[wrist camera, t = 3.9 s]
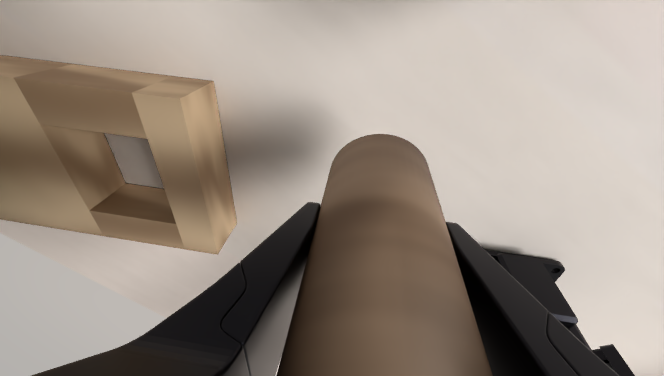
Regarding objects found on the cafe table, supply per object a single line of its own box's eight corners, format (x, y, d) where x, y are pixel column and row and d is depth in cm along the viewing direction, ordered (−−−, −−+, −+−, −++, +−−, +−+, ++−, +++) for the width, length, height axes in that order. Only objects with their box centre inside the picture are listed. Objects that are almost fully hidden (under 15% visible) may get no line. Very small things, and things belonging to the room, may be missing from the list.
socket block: (236, 223, 20) (217, 254, 18) (34, 191, 21) (-10, 217, 19) (213, 81, 14) (179, 98, 12) (-65, 47, 15) (-149, 56, 13)
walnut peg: (414, 222, 12) (459, 478, 6) (326, 209, 12) (273, 441, 6) (443, 141, 10) (569, 417, 3) (333, 127, 10) (260, 360, 4)
